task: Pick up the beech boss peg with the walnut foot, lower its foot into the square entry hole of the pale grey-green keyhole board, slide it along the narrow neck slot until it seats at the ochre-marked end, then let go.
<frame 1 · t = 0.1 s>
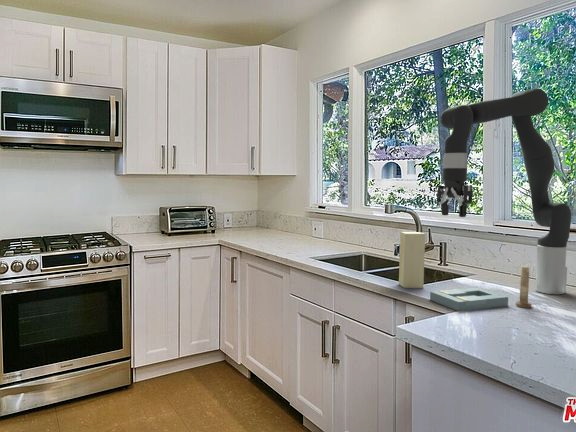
hand: (453, 216, 146), 29 cm above the counter, fingers open, 8 cm apart
keyhole board: (468, 302, 147), on the counter
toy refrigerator: (410, 286, 172), on the counter
boss peg: (523, 306, 144), on the counter
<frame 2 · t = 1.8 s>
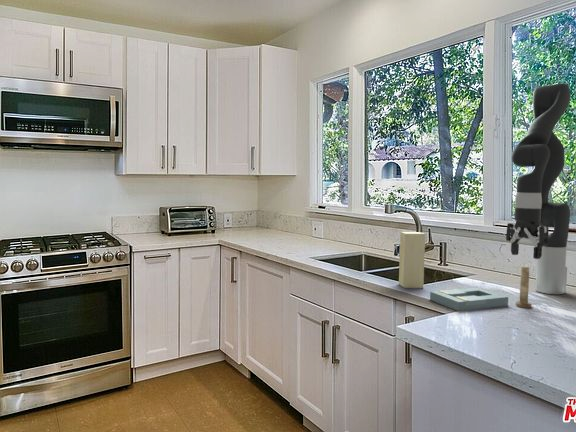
hand: (525, 256, 142), 16 cm above the counter, fingers open, 8 cm apart
nothing on the counter moved.
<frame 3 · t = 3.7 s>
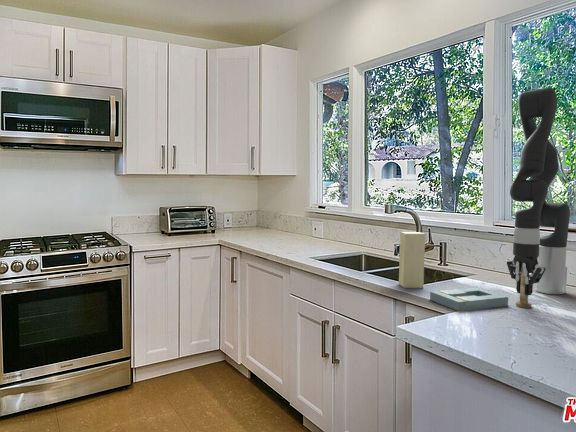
hand: (524, 293, 143), 4 cm above the counter, fingers closed on boss peg, 2 cm apart
boss peg: (523, 306, 144), on the counter, touching gripper
everything else where it was.
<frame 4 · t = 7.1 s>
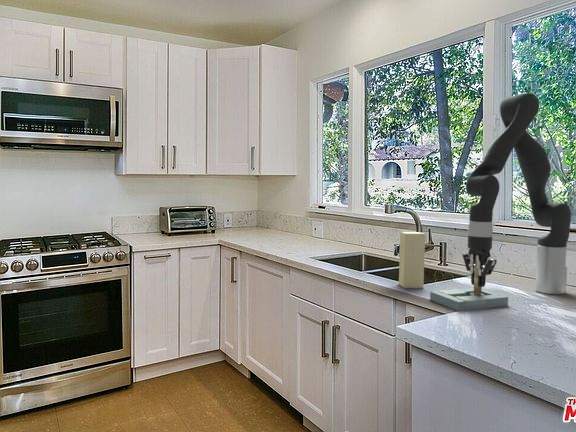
hand: (477, 285, 148), 6 cm above the counter, fingers closed on boss peg, 2 cm apart
boss peg: (477, 297, 148), point 2 cm above the counter, touching gripper
everything else where it was.
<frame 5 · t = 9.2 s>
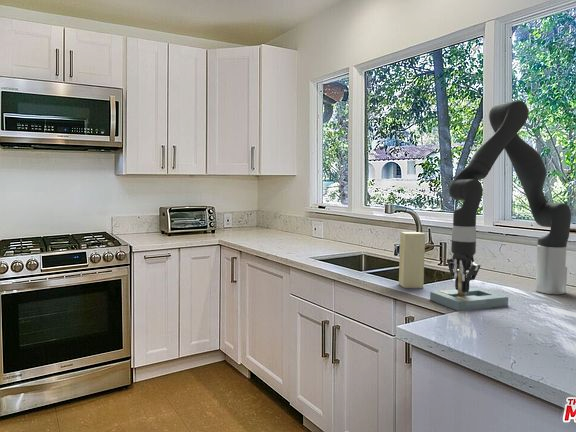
hand: (461, 290, 146), 4 cm above the counter, fingers closed on boss peg, 2 cm apart
boss peg: (461, 302, 146), resting in keyhole board, touching gripper
everything else where it was.
when the fingers open (4 cm above the counter, at t = 10.6 s): boss peg stays where it is, resting in keyhole board.
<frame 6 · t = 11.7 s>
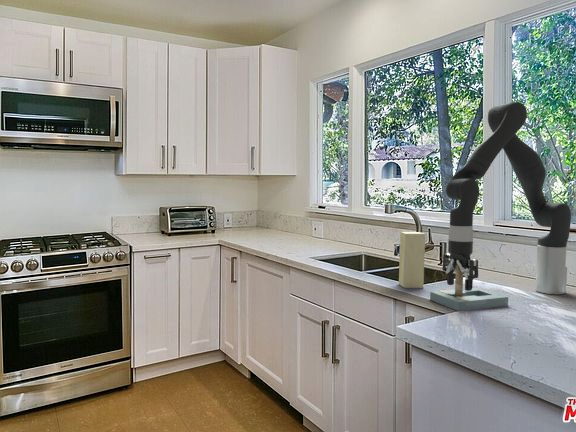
hand: (459, 287, 146), 5 cm above the counter, fingers open, 8 cm apart
boss peg: (458, 303, 146), resting in keyhole board
everything else where it was.
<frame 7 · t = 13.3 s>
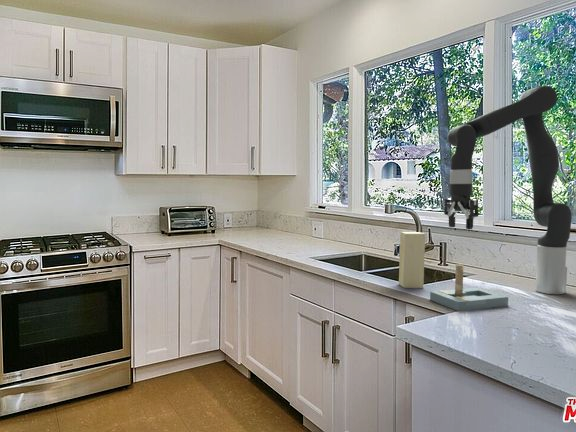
hand: (460, 228, 157), 24 cm above the counter, fingers open, 8 cm apart
nothing on the counter moved.
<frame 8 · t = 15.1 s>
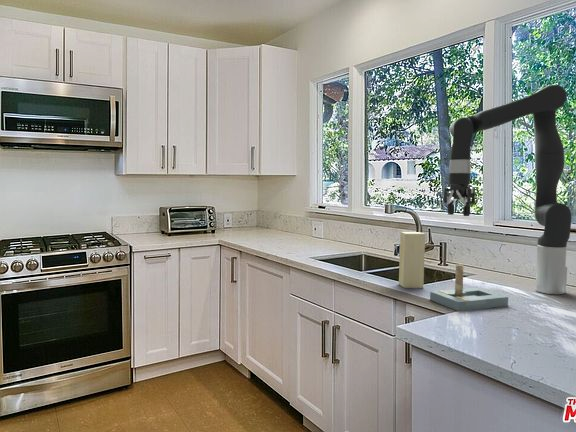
hand: (458, 215, 166), 28 cm above the counter, fingers open, 8 cm apart
nothing on the counter moved.
at the end: boss peg 0.2 cm from the target spot on the keyhole board, point 0.0 cm above the keyhole board's base; boss peg tilted 0°; the gripper is holding nothing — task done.
